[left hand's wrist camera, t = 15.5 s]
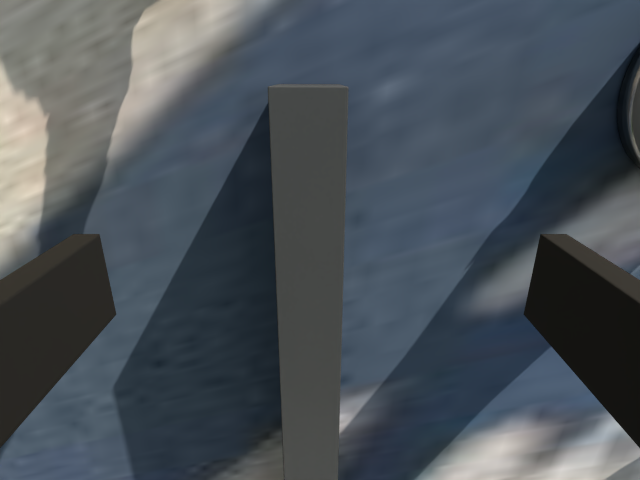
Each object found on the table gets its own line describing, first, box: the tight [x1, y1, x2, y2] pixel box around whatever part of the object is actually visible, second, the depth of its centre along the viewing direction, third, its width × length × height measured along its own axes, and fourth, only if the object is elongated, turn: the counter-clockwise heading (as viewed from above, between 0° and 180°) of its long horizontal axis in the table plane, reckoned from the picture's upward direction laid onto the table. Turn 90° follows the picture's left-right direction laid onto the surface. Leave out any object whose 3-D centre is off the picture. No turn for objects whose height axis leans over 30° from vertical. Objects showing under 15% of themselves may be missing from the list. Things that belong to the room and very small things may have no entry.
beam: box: [268, 84, 348, 480], centre depth 39 cm, size 58×5×8 cm, turn 0°
